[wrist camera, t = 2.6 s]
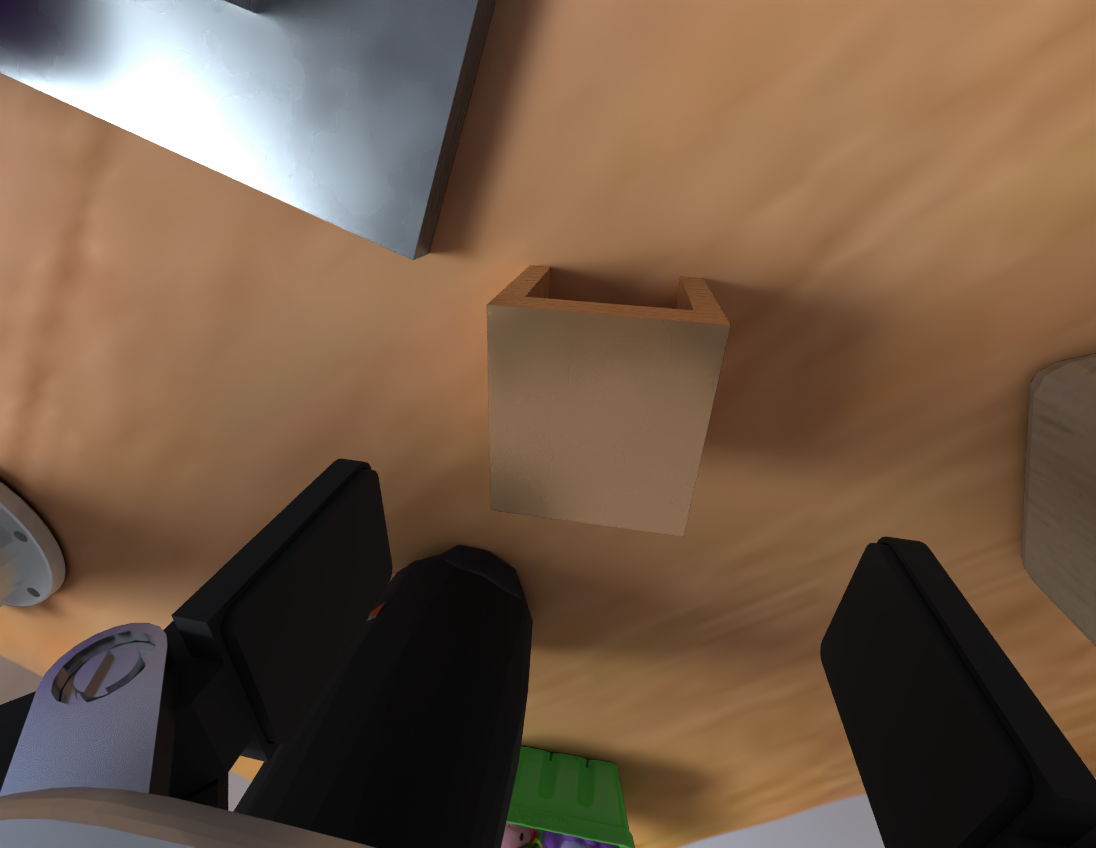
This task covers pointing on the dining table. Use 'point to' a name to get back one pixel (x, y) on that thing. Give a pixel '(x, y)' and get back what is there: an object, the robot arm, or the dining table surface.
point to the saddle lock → (600, 404)
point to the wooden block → (1063, 489)
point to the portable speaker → (414, 716)
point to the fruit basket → (566, 803)
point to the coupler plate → (275, 93)
